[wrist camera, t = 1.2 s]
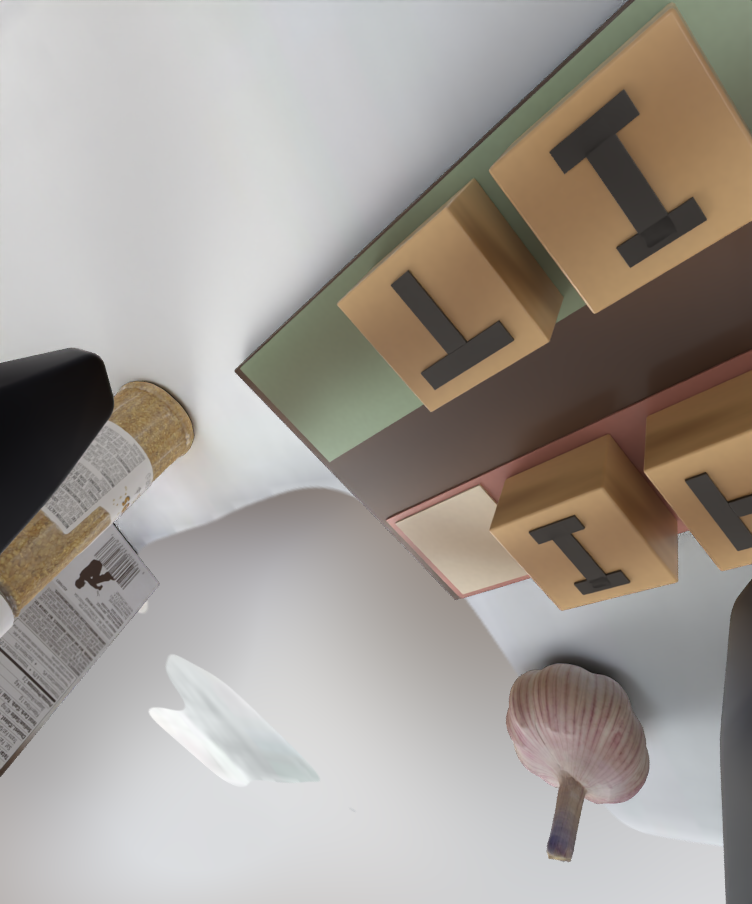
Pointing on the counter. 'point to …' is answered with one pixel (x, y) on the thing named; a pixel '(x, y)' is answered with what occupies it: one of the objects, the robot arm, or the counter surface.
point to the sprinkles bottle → (95, 491)
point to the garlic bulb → (577, 742)
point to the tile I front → (634, 165)
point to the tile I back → (587, 526)
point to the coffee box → (66, 635)
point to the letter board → (532, 377)
